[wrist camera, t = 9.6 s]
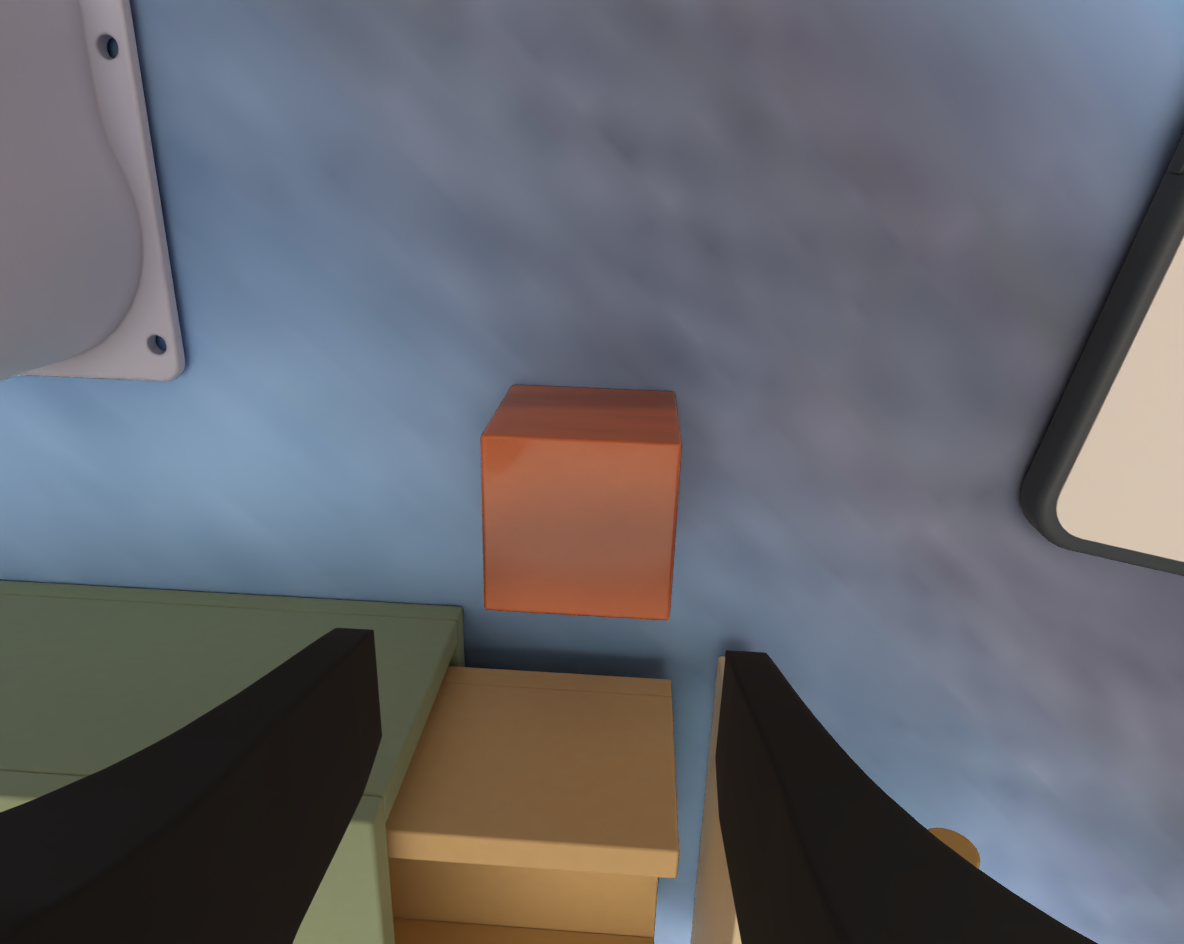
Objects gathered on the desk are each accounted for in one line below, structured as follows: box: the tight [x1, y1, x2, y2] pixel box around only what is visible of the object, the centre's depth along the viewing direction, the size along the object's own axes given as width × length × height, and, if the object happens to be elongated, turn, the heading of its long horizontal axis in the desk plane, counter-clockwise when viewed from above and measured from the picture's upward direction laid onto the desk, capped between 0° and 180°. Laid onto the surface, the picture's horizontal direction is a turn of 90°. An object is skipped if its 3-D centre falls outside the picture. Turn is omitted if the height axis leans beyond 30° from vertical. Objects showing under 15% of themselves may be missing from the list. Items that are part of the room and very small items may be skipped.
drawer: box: [385, 656, 980, 944], centre depth 22 cm, size 19×11×7 cm, turn 88°
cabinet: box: [0, 581, 465, 944], centre depth 23 cm, size 16×13×9 cm
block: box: [480, 385, 682, 620], centre depth 20 cm, size 4×4×4 cm
